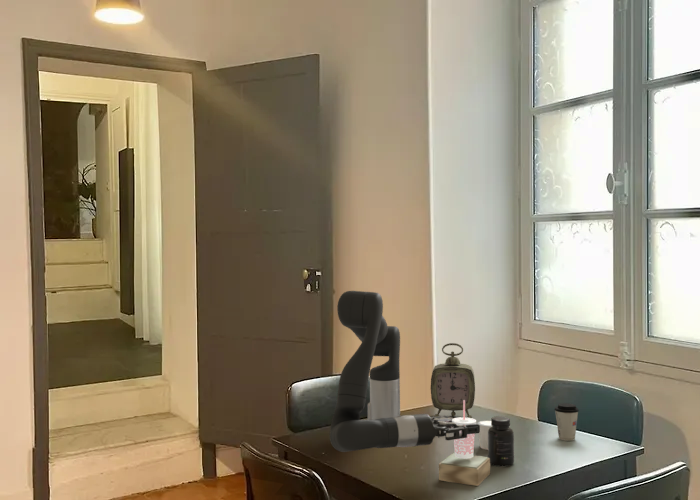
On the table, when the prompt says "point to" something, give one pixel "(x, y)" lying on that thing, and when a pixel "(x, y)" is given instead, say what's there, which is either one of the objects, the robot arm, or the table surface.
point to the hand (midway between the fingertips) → (472, 425)
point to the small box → (464, 469)
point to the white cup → (484, 433)
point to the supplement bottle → (501, 442)
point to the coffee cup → (566, 421)
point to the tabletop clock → (452, 384)
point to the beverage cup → (464, 445)
